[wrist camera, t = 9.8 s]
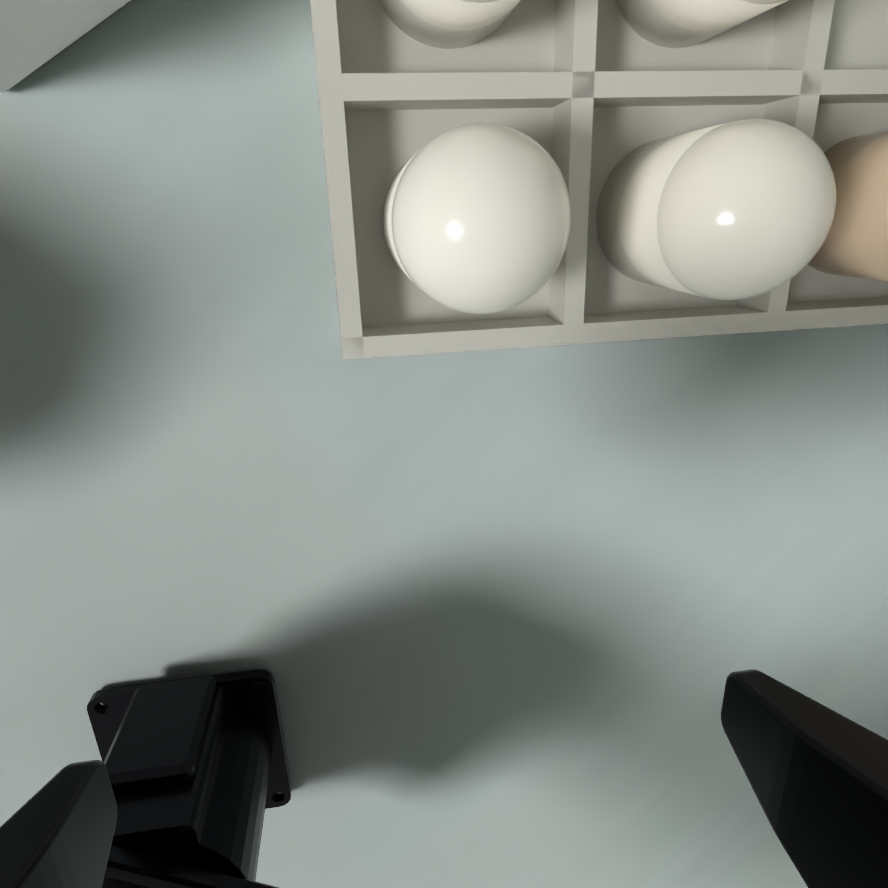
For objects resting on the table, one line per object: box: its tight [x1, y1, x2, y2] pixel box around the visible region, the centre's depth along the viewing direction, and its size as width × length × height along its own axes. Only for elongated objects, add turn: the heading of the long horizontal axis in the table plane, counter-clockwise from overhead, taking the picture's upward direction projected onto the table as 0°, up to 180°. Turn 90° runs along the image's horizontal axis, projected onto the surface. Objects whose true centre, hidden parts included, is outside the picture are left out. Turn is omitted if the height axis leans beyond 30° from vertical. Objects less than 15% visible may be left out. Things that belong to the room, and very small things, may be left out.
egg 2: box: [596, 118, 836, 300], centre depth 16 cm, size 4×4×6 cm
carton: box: [310, 0, 888, 359], centre depth 18 cm, size 14×20×2 cm
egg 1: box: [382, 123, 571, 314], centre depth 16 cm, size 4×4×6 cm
